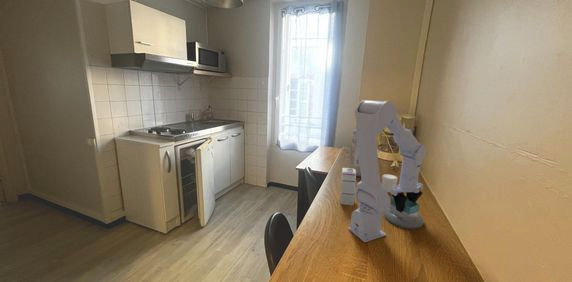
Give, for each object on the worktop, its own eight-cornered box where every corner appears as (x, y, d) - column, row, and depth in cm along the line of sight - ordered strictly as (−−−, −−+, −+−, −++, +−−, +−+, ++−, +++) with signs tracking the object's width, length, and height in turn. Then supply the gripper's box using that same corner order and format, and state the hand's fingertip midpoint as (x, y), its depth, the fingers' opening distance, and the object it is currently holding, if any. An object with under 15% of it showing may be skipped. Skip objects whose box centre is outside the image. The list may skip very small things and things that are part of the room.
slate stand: (406, 232, 77) (406, 228, 76) (376, 214, 88) (377, 210, 88) (431, 224, 82) (431, 220, 82) (400, 207, 93) (400, 204, 93)
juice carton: (348, 175, 127) (352, 128, 121) (349, 169, 137) (353, 125, 131) (365, 177, 125) (370, 129, 119) (364, 171, 135) (369, 126, 129)
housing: (389, 211, 87) (391, 197, 86) (398, 208, 89) (400, 195, 88) (407, 222, 80) (410, 207, 79) (417, 219, 82) (419, 204, 81)
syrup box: (354, 205, 94) (357, 173, 91) (339, 204, 95) (342, 171, 92) (353, 199, 100) (356, 168, 96) (339, 198, 101) (341, 167, 97)
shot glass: (387, 193, 106) (388, 179, 104) (377, 187, 112) (379, 174, 111) (399, 192, 108) (401, 178, 106) (389, 186, 114) (390, 173, 113)
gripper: (405, 182, 75) (399, 219, 78) (433, 176, 81) (427, 210, 84) (387, 174, 81) (383, 209, 84) (415, 169, 87) (410, 202, 90)
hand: (404, 209), depth 84 cm, fingers closed on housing, 5 cm apart
